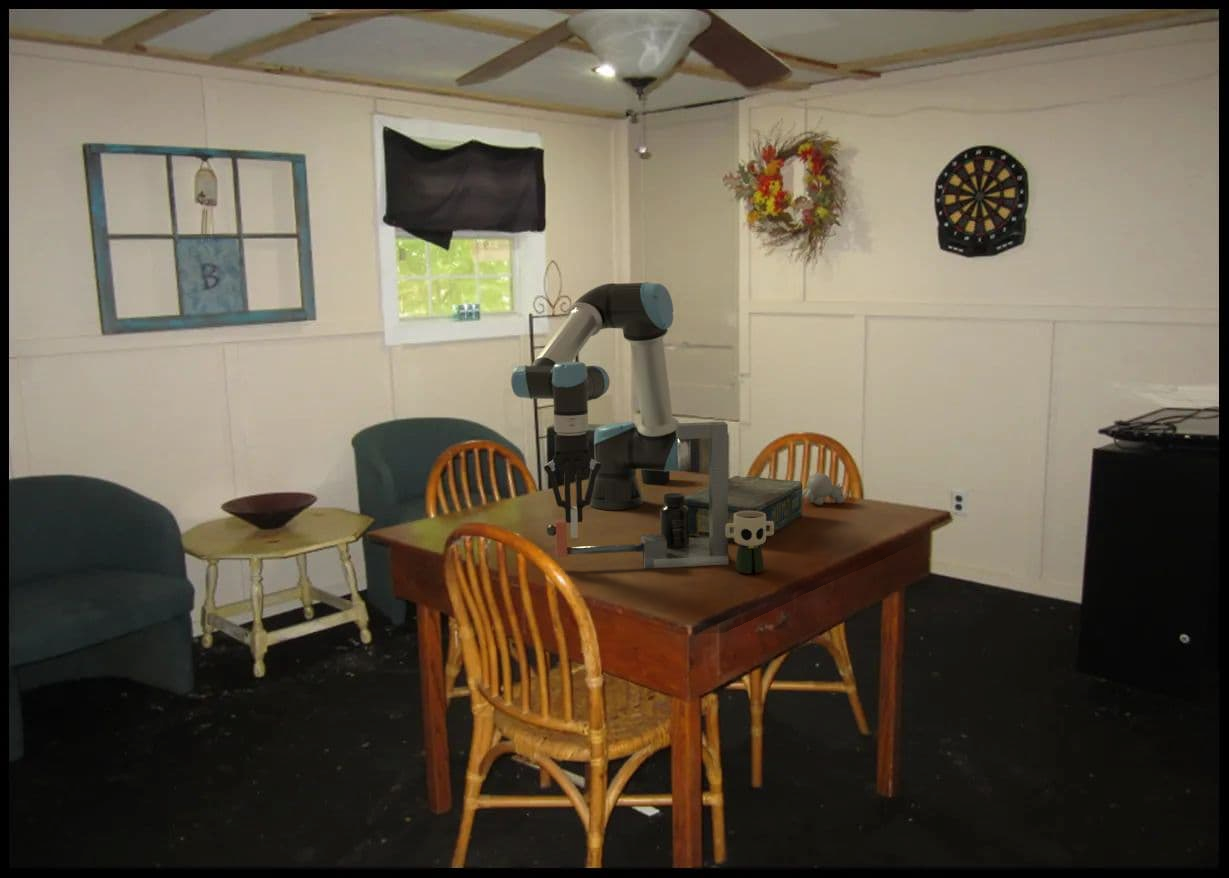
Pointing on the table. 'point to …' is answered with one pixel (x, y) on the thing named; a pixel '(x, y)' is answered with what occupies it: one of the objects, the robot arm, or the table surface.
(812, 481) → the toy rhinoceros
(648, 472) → the pen holder
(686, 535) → the supplement bottle
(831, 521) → the table surface
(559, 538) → the lever
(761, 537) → the character mug
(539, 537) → the table surface
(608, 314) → the robot arm
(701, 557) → the press
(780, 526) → the metal box
